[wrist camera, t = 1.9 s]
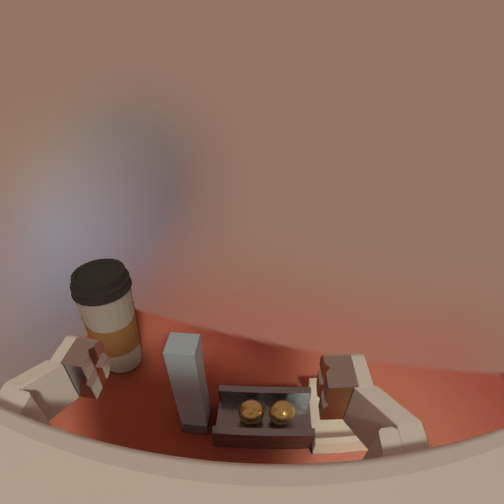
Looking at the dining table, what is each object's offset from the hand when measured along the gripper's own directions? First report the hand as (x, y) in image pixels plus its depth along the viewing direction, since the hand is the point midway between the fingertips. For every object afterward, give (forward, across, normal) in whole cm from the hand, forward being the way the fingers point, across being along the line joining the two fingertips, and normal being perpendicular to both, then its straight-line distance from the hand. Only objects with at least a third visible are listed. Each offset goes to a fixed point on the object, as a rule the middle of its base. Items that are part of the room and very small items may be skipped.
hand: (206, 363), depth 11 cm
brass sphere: (+14, -1, +24) cm, 28 cm away
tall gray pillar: (+14, +6, +25) cm, 29 cm away
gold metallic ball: (+14, -4, +24) cm, 28 cm away
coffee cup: (+23, +18, +25) cm, 39 cm away
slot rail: (+14, -2, +25) cm, 29 cm away
